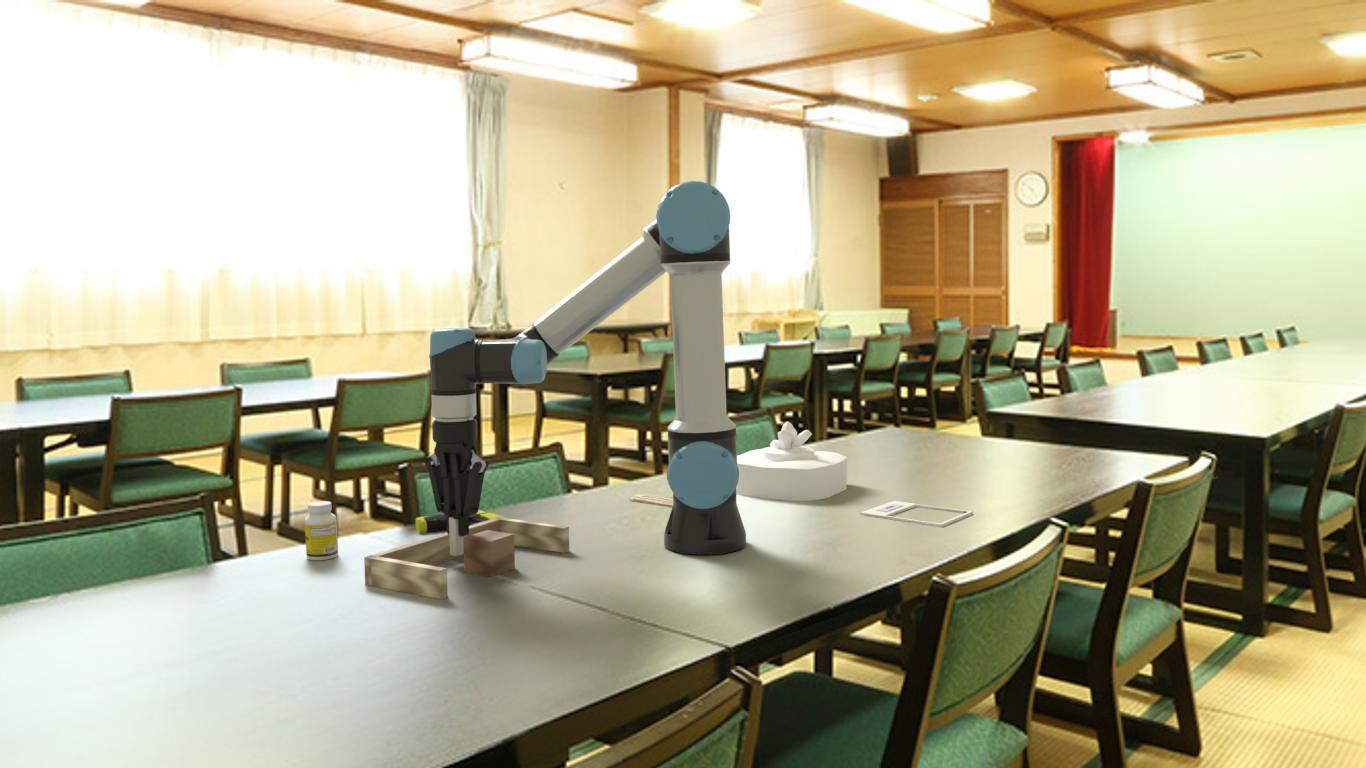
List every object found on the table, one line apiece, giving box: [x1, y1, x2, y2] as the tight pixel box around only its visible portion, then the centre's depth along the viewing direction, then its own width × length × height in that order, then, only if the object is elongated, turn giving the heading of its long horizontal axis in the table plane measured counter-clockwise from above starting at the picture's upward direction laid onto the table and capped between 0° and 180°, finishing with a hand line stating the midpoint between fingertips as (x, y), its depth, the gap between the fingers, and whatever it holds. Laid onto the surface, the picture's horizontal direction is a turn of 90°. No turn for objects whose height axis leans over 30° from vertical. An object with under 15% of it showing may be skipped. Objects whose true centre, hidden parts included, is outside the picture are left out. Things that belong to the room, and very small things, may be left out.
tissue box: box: [736, 421, 848, 502], centre depth 245 cm, size 25×25×16 cm
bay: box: [363, 516, 570, 600], centre depth 180 cm, size 16×33×4 cm, turn 149°
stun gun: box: [414, 509, 506, 534], centre depth 206 cm, size 3×19×15 cm
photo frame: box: [859, 500, 974, 528], centre depth 218 cm, size 15×1×18 cm
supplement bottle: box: [304, 500, 339, 561], centre depth 188 cm, size 5×5×10 cm
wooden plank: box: [629, 492, 673, 508], centre depth 230 cm, size 24×7×2 cm, turn 53°
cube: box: [463, 530, 516, 577], centre depth 178 cm, size 6×6×6 cm
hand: (458, 553), depth 182 cm, fingers closed
